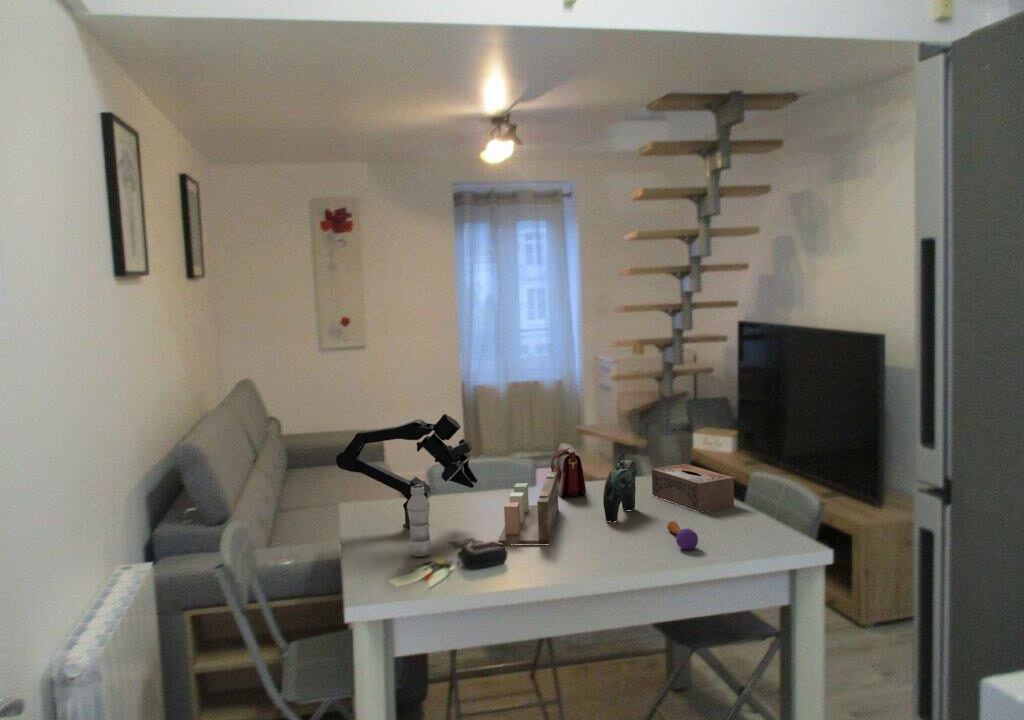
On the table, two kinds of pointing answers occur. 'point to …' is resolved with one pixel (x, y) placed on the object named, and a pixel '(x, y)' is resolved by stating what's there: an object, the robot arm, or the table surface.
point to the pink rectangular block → (512, 518)
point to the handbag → (568, 470)
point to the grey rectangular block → (519, 498)
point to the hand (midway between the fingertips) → (474, 484)
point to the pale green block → (524, 488)
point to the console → (538, 517)
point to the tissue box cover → (693, 487)
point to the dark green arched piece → (620, 489)
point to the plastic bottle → (419, 522)
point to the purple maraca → (683, 536)
